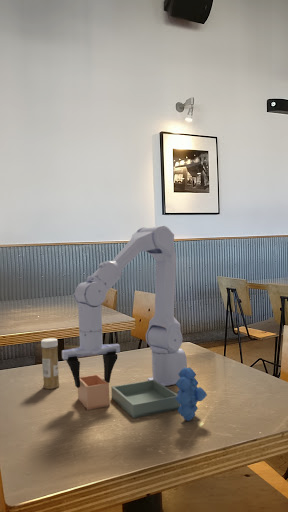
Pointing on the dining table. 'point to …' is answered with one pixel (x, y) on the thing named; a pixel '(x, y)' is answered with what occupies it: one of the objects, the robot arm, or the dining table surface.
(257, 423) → the dining table surface
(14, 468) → the dining table surface
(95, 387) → the small crate
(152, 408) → the base crate
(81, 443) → the dining table surface
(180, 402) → the grapes
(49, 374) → the sprinkles bottle
